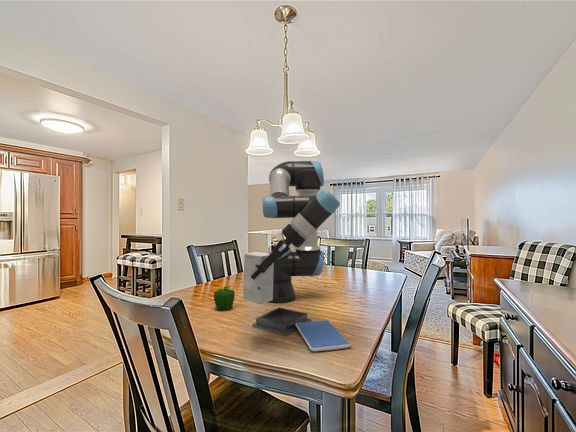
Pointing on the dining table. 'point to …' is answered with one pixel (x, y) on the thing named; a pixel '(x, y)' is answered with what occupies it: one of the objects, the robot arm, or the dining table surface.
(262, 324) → the square metal tray
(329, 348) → the tablet computer
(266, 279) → the skincare box
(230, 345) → the dining table surface
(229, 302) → the bell pepper
